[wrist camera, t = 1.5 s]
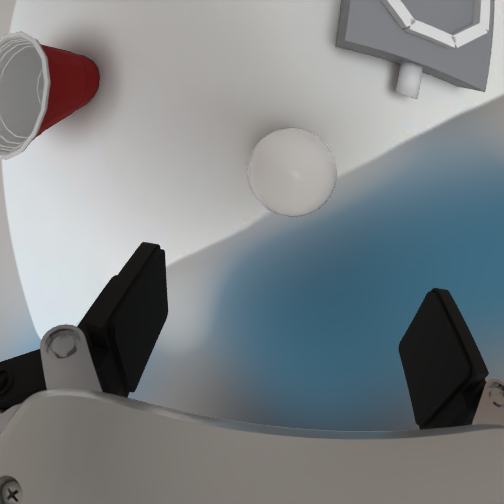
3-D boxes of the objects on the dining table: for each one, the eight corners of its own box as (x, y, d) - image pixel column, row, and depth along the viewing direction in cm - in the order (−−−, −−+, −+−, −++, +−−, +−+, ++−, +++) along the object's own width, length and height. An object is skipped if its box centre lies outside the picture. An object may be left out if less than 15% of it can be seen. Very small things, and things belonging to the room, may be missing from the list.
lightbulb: (259, 179, 30) (245, 233, 21) (255, 116, 27) (237, 139, 18) (324, 178, 30) (340, 232, 20) (324, 115, 26) (345, 137, 17)
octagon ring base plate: (349, -78, 14) (361, -105, 9) (469, -32, 14) (499, -44, 9) (330, 76, 24) (342, 76, 19) (453, 113, 24) (485, 125, 19)
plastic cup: (136, 43, 24) (59, 39, 14) (104, 138, 29) (31, 177, 19) (60, 26, 22) (-20, 28, 12) (37, 112, 28) (-37, 141, 18)
